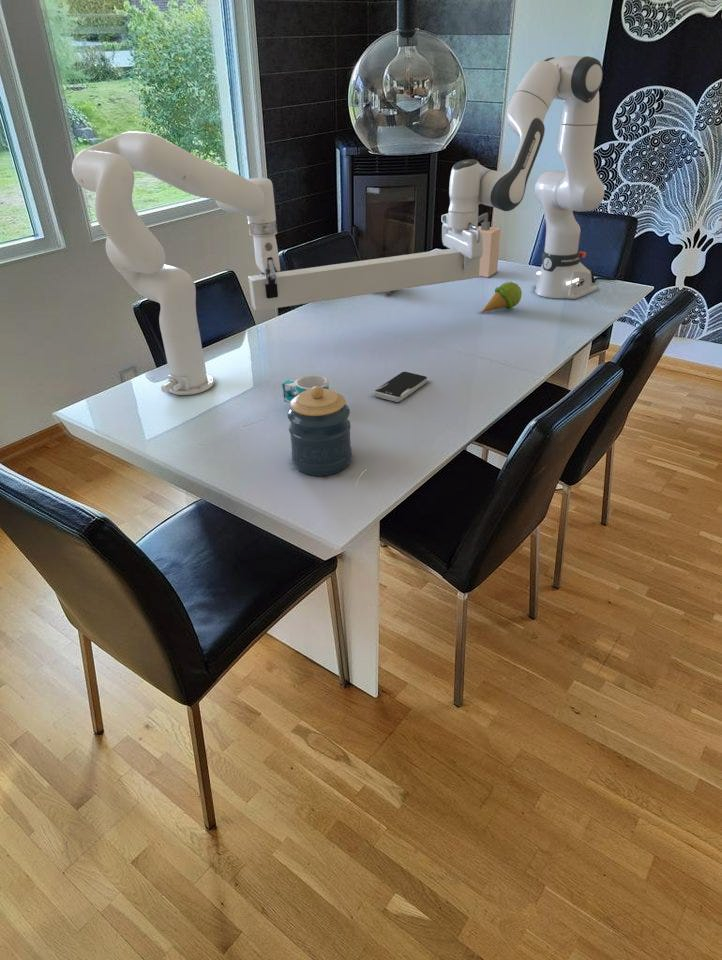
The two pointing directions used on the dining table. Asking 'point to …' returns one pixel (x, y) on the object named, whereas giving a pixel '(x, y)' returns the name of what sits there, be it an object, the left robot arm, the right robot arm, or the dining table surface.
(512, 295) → the toy
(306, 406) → the canister
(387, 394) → the smartphone
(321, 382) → the mug
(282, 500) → the dining table surface
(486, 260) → the soap dispenser
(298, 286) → the post
